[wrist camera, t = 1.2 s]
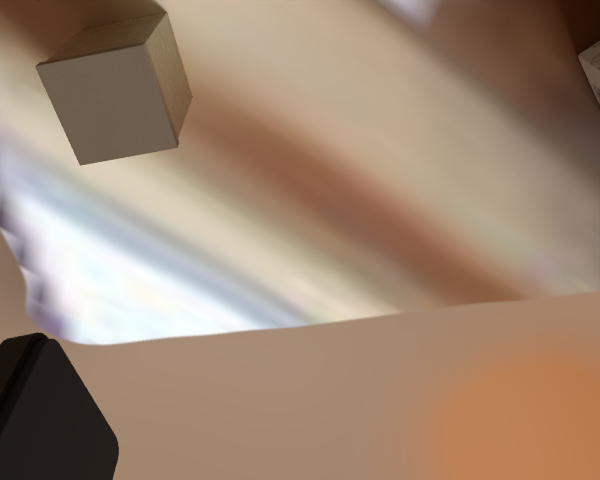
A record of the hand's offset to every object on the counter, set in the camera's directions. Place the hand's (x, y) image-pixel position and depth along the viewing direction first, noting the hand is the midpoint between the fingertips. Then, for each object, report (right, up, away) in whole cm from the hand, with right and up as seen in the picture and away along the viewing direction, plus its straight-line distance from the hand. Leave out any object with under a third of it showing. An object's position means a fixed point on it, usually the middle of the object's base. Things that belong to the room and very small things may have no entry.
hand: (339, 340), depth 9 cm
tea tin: (-10, +12, +23) cm, 28 cm away
